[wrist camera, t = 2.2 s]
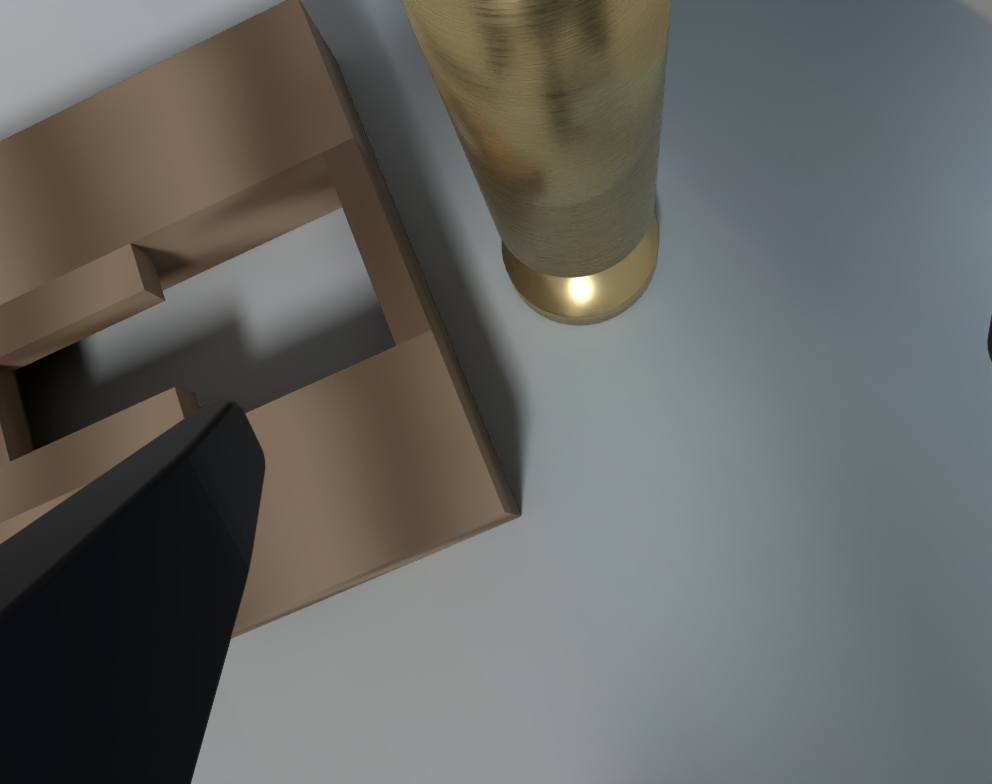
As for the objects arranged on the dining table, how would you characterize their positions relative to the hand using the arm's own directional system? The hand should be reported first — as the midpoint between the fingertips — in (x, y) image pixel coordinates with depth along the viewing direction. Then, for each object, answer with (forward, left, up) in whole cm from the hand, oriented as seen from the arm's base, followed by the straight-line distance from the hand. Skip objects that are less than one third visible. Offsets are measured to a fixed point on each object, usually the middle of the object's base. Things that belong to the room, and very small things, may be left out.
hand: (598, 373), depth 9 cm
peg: (+2, +6, -12) cm, 14 cm away
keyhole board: (-10, +9, -12) cm, 18 cm away
